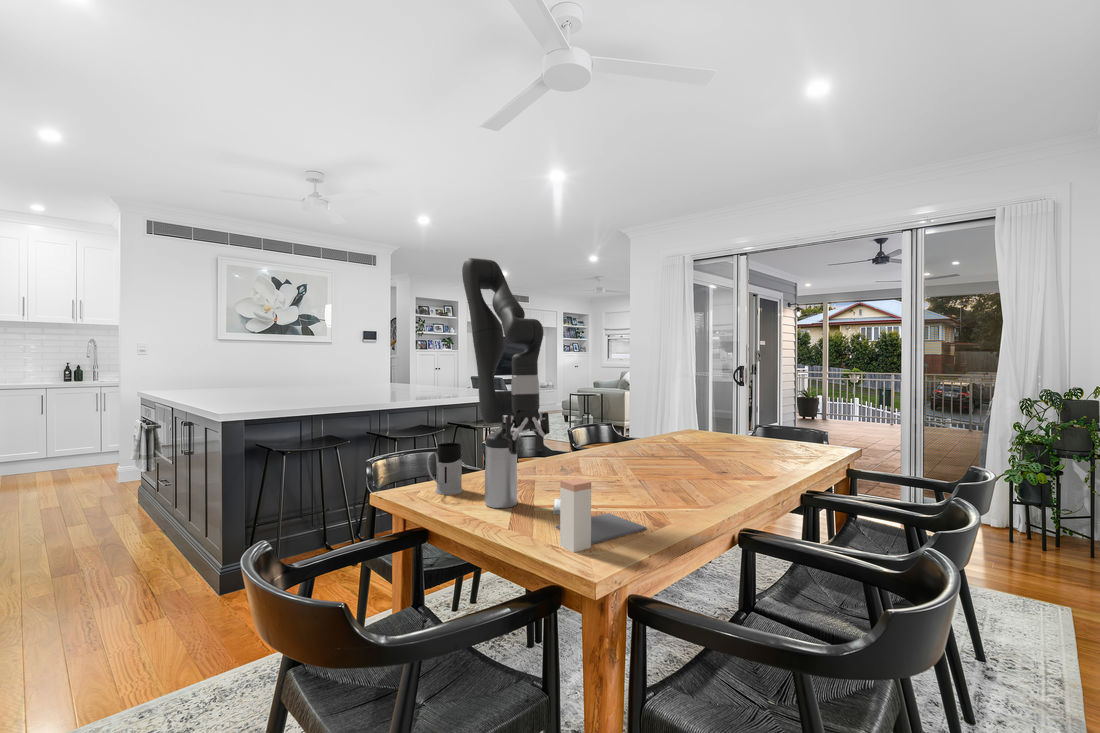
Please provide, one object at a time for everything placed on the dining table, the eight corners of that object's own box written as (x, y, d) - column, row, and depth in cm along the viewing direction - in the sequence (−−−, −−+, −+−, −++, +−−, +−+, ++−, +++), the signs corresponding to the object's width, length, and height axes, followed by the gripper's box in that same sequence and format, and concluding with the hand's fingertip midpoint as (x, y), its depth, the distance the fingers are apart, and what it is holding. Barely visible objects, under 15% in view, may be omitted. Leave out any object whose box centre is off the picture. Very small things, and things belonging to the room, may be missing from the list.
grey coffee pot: (468, 490, 166) (468, 444, 166) (438, 500, 154) (438, 450, 153) (447, 486, 170) (448, 441, 170) (417, 496, 158) (417, 448, 158)
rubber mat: (556, 527, 129) (556, 525, 129) (609, 515, 140) (609, 513, 140) (591, 544, 118) (591, 541, 118) (646, 529, 128) (646, 527, 128)
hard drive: (582, 510, 140) (581, 498, 153) (553, 510, 141) (554, 497, 153) (582, 516, 140) (581, 503, 153) (553, 516, 141) (554, 503, 153)
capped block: (560, 545, 117) (560, 480, 117) (577, 541, 120) (577, 477, 120) (573, 552, 113) (573, 485, 113) (590, 547, 116) (591, 482, 116)
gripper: (537, 391, 145) (539, 448, 145) (495, 393, 136) (496, 453, 136) (554, 391, 139) (555, 450, 139) (511, 393, 130) (512, 457, 130)
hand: (526, 452), depth 137 cm, fingers open, 8 cm apart
